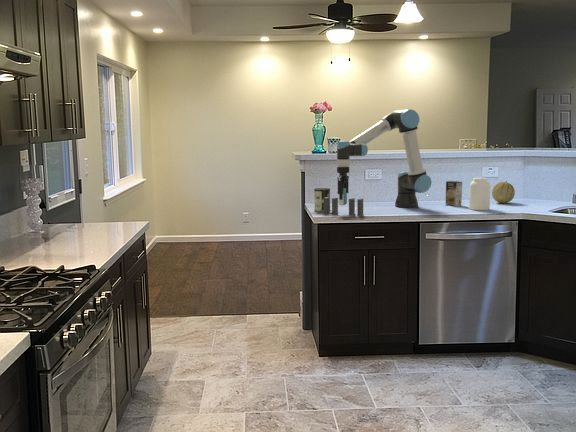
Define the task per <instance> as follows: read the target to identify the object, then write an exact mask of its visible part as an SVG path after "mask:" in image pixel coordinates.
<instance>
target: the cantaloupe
mask: <svg viewBox="0 0 576 432" xmlns="http://www.w3.org/2000/svg"><path fill="white" fill-rule="evenodd" d="M491 190H492V191H491V196H492V197H493V200H494V201H495V202H497V203H499V204H507V203H510V202H511V201H513V199H514V198H515V194H516V190H515V187H514V186H513V184H511V183H509V182H508V181H507V180H505V181H499V182H496V184H495V185H493V187H492V189H491Z"/></svg>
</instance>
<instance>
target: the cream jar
mask: <svg viewBox="0 0 576 432" xmlns="http://www.w3.org/2000/svg"><path fill="white" fill-rule="evenodd" d="M468 191H469V194H468V196H469V197H468V208H469V210H472V211H488V210H490V209H491V208H490V207H491V184H490V182H489V181H488V178H487V177H473V179H472V181H471V182H470V184H469V190H468Z"/></svg>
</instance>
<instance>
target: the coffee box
mask: <svg viewBox="0 0 576 432" xmlns="http://www.w3.org/2000/svg"><path fill="white" fill-rule="evenodd" d="M462 198H463V181H460V180H458V181H457V180H446V181H445V206H451V207H459V206H462Z"/></svg>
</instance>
